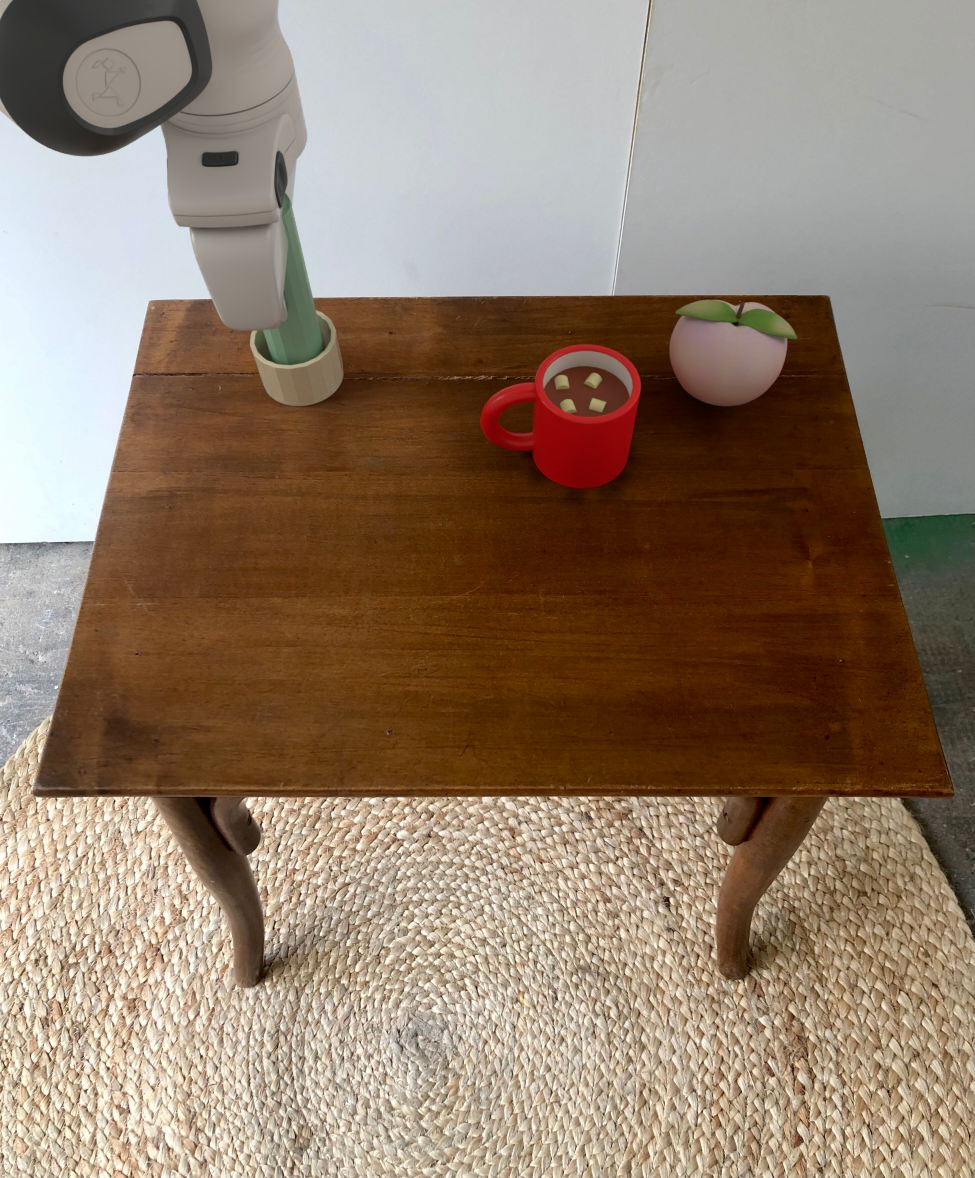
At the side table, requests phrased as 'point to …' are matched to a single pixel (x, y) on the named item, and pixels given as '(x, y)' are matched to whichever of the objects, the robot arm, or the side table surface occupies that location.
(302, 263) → the bottle
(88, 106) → the robot arm
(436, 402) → the side table surface
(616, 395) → the mug
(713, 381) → the decorative fruit
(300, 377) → the holder
